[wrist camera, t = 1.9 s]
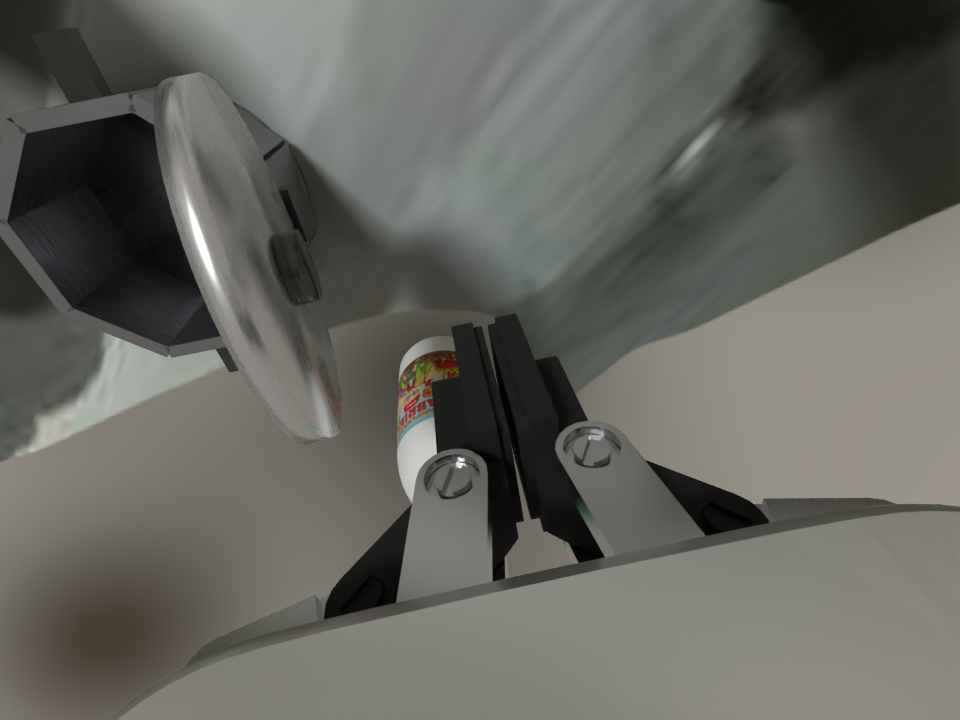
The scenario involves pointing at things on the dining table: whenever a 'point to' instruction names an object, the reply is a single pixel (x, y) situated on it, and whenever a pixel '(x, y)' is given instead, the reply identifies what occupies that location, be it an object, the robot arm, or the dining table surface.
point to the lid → (247, 257)
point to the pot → (113, 208)
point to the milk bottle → (420, 403)
